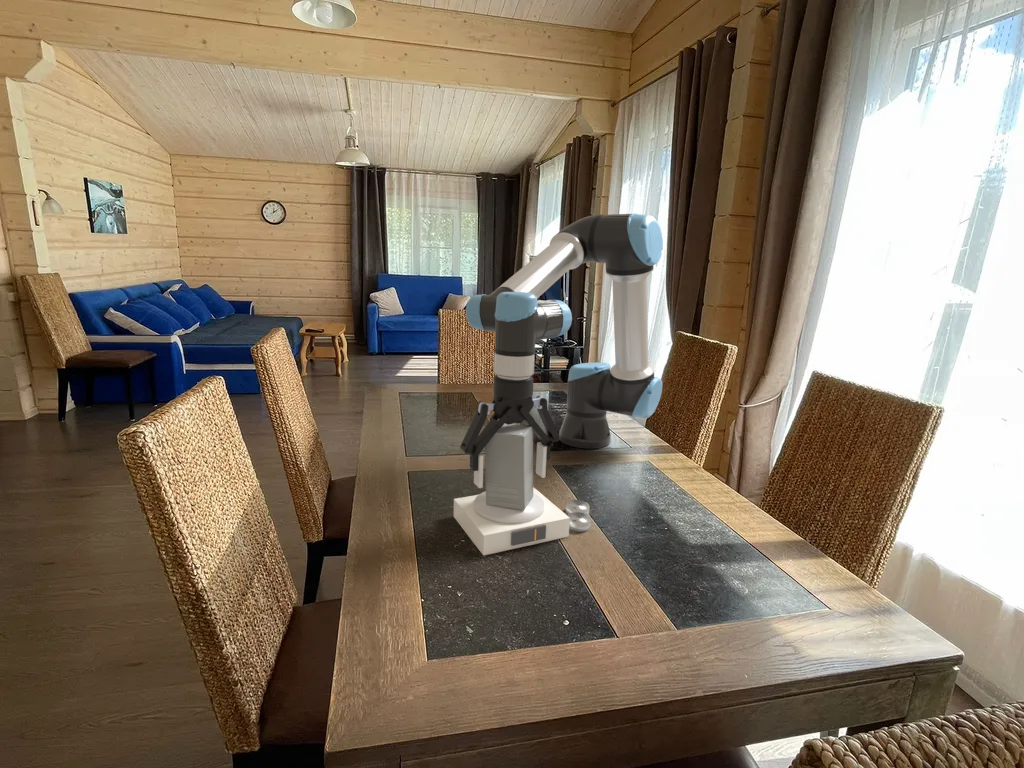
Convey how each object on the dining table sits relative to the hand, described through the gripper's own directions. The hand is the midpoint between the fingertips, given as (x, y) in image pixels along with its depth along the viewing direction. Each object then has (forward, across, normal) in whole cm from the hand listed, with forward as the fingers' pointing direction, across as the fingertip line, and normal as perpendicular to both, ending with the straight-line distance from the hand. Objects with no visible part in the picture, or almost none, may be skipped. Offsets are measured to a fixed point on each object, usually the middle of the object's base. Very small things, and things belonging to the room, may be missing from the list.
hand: (510, 480), depth 108 cm
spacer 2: (+10, -13, +6) cm, 17 cm away
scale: (+10, 0, 0) cm, 10 cm away
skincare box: (+5, 0, 0) cm, 5 cm away
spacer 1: (+10, -16, 0) cm, 19 cm away
